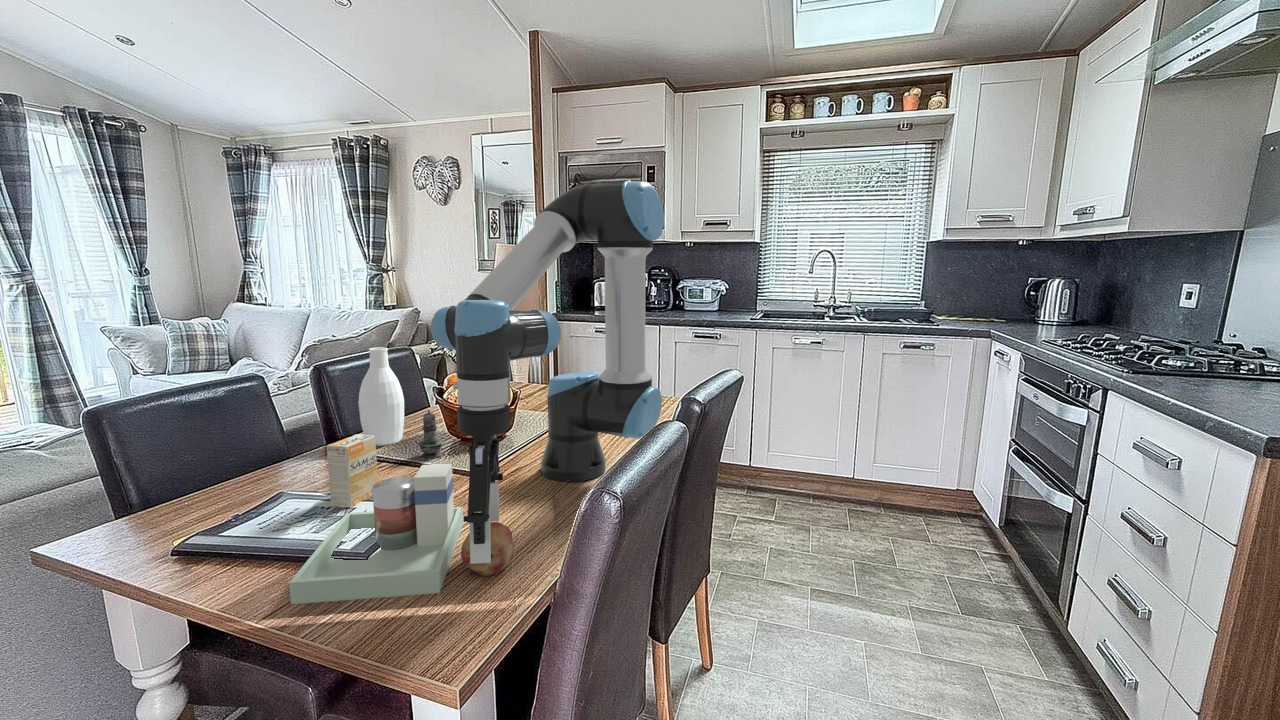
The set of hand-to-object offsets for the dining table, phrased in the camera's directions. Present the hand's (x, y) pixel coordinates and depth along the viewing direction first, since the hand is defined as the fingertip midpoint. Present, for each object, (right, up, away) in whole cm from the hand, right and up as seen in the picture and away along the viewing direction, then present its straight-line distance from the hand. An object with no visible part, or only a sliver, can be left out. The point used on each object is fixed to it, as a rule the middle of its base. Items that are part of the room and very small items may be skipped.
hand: (486, 539), depth 84 cm
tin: (-17, -3, +9) cm, 20 cm away
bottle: (-46, +5, +65) cm, 80 cm away
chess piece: (-29, +3, +54) cm, 61 cm away
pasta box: (-12, -3, +11) cm, 16 cm away
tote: (-17, -5, +4) cm, 18 cm away
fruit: (0, -6, +1) cm, 6 cm away
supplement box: (-33, -1, +26) cm, 42 cm away
